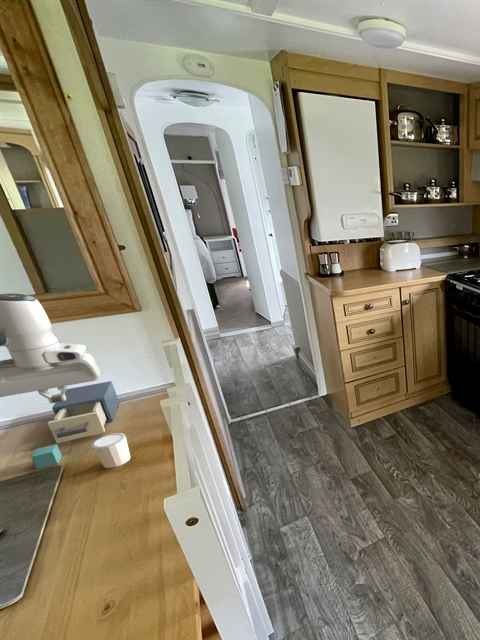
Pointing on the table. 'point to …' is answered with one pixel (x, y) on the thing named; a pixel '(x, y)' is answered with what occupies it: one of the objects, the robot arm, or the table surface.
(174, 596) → the table surface
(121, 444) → the white faceted cup
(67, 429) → the drawer
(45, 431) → the table surface
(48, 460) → the teal cube
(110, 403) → the blue drawer cabinet
